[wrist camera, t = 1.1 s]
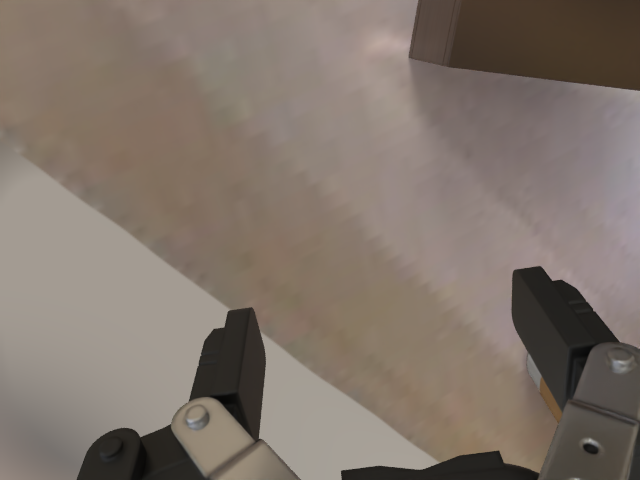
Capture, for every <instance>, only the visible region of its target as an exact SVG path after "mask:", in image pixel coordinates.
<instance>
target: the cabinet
mask: <svg viewBox="0 0 640 480" xmlns="http://www.w3.org/2000/svg"><path fill="white" fill-rule="evenodd" d="M409 58H412V59H416V60H421V61H425V62H429V63H433V64H438V65H442V66H446V67H453V68H461V69H469V70H477V71H485V72H493V73H501V74H509V75H517V76H525V77H533V78H541V79H549V80H557V81H565V82H573V83H581V84H589V85H597V86H605V87H613V88H621V89H629V90H637V91H640V0H418V6H417V12H416V17H415V23H414V29H413V35H412V41H411V46H410V52H409Z"/></svg>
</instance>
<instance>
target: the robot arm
mask: <svg viewBox="0 0 640 480" xmlns="http://www.w3.org/2000/svg"><path fill="white" fill-rule="evenodd" d="M512 319H513V323H514V326H515V329H516V331H517V333H518V335H519V337H520V338H521V340H522V342H523V344H524V345H525V347H526V349H527V351H528V353H529V354H530V356H531V358H532V360H533V362H534V363H535V365H536V367H537V369H538V371H539V372H540V374H541V376H542V378H543V379H544V381H545V383H546V385H547V387H548V388H549V390H550V392H551V394H552V396H553V397H554V399H555V401H556V403H557V405H558V406H559V408H560V410H561V412H562V416H561V419H560V421H559V424H558V427H557V429H556V432H555V434H554V437H553V440H552V442H551V445H550V448H549V450H548V453H547V456H546V458H545V461H544V464H543V466H542V469H541V471H540V474H539V473H537V472H535V471H532V470H530V469H527V468H524V467H521V466H516V465H512V464H505V463H504V462H503V460H502V457H501V455H500V452H499V451H492V452H485V453H477V454H469V455H461V456H457V457H455V458H452V459H450V460H447V461H444V462H442V463H439V464H436V465H434V466H431V467H429V468H426V469H423V470H414V469H405V468H395V467H385V466H375V467H366V468H360V469H352V470H343V471H341V476H342V480H629V476H630V472H631V467H632V463H633V459H634V454H635V450H636V446H637V445H640V349H638V348H636V347H634V346H632V345H629V344H625V343H620V342H619V341H618V339H617V338H616V337H615V336H614V334H613V333H612V332H611V331H610V329H609V328H608V327H607V326H606V325H605V323H604V322H603V321H602V320H601V318H600V317H599V316H598V315H597V313H596V312H594V311H593V308H592V307H591V306H590V305H589V303H588V302H586V300H585V299H584V297H583V296H582V295H581V294H580V292H579V291H578V290H577V289H576V288H575V287H573V286H571V285H569V284H568V283H566V282H564V281H563V280H556V281H552V280H551V279H550V277H549V276H548V275H547V273H546V272H545V271H544V269H543V268H542V267H541V266H537V267H530V268H523V269H516V270H514V271H513V277H512ZM265 365H266V357H265V349H264V345H263V341H262V337H261V333H260V330H259V326H258V323H257V319H256V315H255V312H254V309H253V308H252V307H251V308H244V309H237V310H230V311H228V314H227V319H226V323H225V327H224V328H218V329H214V330H213V331H212V332H211V334H210V335H209V336H208V337H207V338H206V340H205V341H204V345H203V349H202V353H201V356H200V360H199V366H198V368H197V372H196V376H195V380H194V383H193V387H192V391H191V395H190V399H189V402H188V403H186V404H185V405H183V406H182V407H181V408H180V409H179V410H178V411H177V412H176V413H175V415H174V417H173V419H172V422H171V424H170V425H168V426H167V427H165V428H163V429H160V430H158V431H155V432H153V433H150V434H148V435H145V436H143V437H140V436H139V434H138V433H137V432H136V431H135V430H133V429H129V428H120V429H116V430H113V431H110V432H108V433H106V434H105V435H103V436H101V437H100V438H99V439H97V440H96V441H95V442H94V443H93V444H92V446H91V447H90V448H89V450H88V451H87V453H86V456H85V458H84V461H83V464H82V467H81V469H80V472H79V475H78V477H77V480H301V479H300V478H299V477H298V476H297V475H296V474H295V473H294V472H293V471H292V470H291V469H290V468H289V467H288V466H287V464H286V463H285V462H284V461H283V460H282V459H281V458H280V457H279V456H278V455H277V454H276V453H275V452H274V450H272V448H271V447H270V446H269V445H268V444H267V443H266V442H265V441H264V440H262V439H259V430H260V419H261V409H262V398H263V387H264V377H265V367H266V366H265Z"/></svg>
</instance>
